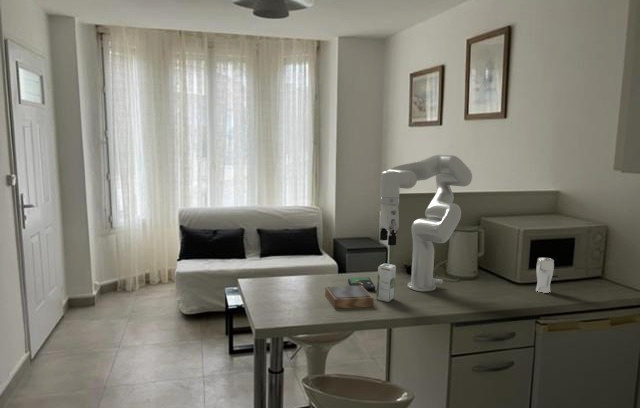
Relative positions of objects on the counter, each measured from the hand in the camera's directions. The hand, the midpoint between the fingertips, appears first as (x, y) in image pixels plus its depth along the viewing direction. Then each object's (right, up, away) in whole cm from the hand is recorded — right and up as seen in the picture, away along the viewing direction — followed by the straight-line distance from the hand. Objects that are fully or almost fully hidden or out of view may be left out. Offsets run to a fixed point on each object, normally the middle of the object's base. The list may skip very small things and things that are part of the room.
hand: (387, 242), depth 194 cm
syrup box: (0, -24, +3) cm, 24 cm away
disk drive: (-9, -22, +20) cm, 31 cm away
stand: (-16, -24, 0) cm, 29 cm away
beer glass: (+73, -24, +19) cm, 79 cm away
